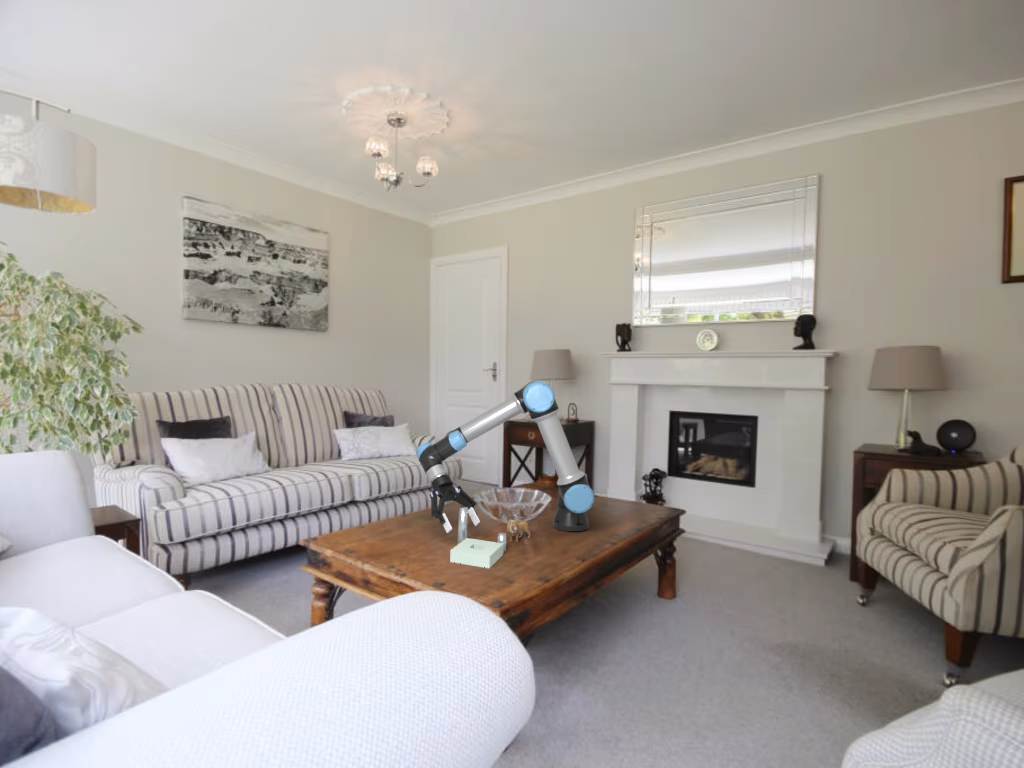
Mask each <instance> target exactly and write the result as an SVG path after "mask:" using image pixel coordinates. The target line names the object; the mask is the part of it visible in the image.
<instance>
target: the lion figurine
mask: <svg viewBox="0 0 1024 768" xmlns="http://www.w3.org/2000/svg"><path fill="white" fill-rule="evenodd" d="M506 527H507V529H506V531H507V533H508V535H509V540H508V542H509V541H512V542H513V536H515V540H514V543H515V542H518V543H519V538H518V537H521V538H522V536H523V534H524V533H523V531H525V532H526V535H528V536H527V539H531V537H532V535H531V530H530V527H529V523H528V522H527V521H526V520H522V521H519V522H518V521H517V520H515V519H511V520H509V521H508V523H507V526H506Z"/></svg>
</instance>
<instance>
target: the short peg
mask: <svg viewBox="0 0 1024 768" xmlns="http://www.w3.org/2000/svg"><path fill="white" fill-rule="evenodd" d="M507 537H508V536H507V533H506V532H497V543H504V548H503V553H505V552H506V551H507V539H508V538H507ZM504 551H505V552H504Z"/></svg>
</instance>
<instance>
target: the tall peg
mask: <svg viewBox="0 0 1024 768" xmlns="http://www.w3.org/2000/svg"><path fill="white" fill-rule="evenodd" d="M468 515H469V513H468V507H466V506H462V505H460V506H459V507H458V529H457V545H458V544H459V543H461V542H462V541H463V540H465V539H466V538H468V518H469V517H468Z"/></svg>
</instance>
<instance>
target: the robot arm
mask: <svg viewBox="0 0 1024 768" xmlns="http://www.w3.org/2000/svg"><path fill="white" fill-rule="evenodd" d="M559 410H560V409H559V405H558V403H557V401H556V398H555V391H554V389H553V388H552V386H550V384H549V383H547V382H545V381H543V380H532V381H529V382H527V384H526V385H524V386H523V387H522V388H519V390H517V391H516V392H514V393H513V394H512V396H511V397H510V398H508V399H506V400H504V401H503V402H501V403H499V404H498V405H495V406H493V407H491V408H490V409H488V410H487V411H485V412H483V413H481V414H479V415H477V416H476V417H474V418H473V419H471V420H469V421H466V422H465V423H463V424H462V425H460V426H459V427H457V428H455V429H453V430H450V431H449V432H447V433H446V434H445V436H444V437H443V438H442V439H440V440H438V441H437V442H436V443H434V444H433V443H432V442H429V441H427V442H424V443H422V444H420V445H419V446H418V447H417V448H416V450H415V455H416V456H417V459H418V462H419V464H420V465H421V467H422V469H423V471H424V473H425V475H426V477H427V479H428V482H429V483H430V484H431V485H430V486H431V488H432V489H433V490H432V491H431V492H430V493H429V497H430V505H431V506H430V508H431V509H430V511H431V517H433V518H434V517H435V519H438V520H439V522H440V524H441V525H442V526H443V528H444V530H445V532H446V534H449V533H450V532H451V531H452V530H453V527H452V525H451V523H450V521H449V519H448V517H447V515H446V512H443V510H444V507H445V503H446V502H449V501H450V502H451V501H453V502H456V503H457V504H459V505H460V506H466V507H468V515H469V518H470V519H471V521H472V523H473V525H474V527H476V526H478V525H479V524H480V522H481V521H480V519H479V517H478V512H477V511H476V509H475V507H476V505H477V502H476V501H475V500H474V499H473V498H471V496H470V495H469V494H467V493H466V492H465V491H464V490H463V488H462V487H461V485H458V486H457V487H454V486H453V480H452V479H451V477H450V475H449V474H448V471H447V469H446V468H445V465H444V463H443V462H444V461H446V460H447V459H448V458H450V457H452V456H453V455H455V454H456V453H458V452H460V451H462V450H463V449H464V448H465V447H466V446H468V445H467V444H468V443H470V442H471V441H473V440H475V439H477V438H478V437H481V436H482V435H484V434H486V433H488V432H490V431H491V430H493V429H495V428H497V427H498V426H500V425H502V424H503V423H505V422H507V421H510V420H511V419H513V418H514V417H516V416H518V415H520V414H526V413H528V414H529V417H530V419H531V421H533V422H536V424H537V426H538V429H539V432H540V434H541V436H542V439H543V442H544V444H545V447H546V450H547V453H548V455H549V457H550V459H551V462H552V465H553V467H554V470H555V472H556V475H557V477H558V479H557V482H556V485H557V488H558V494H557V495H558V496H557V501H558V502H557V509H556V512H555V513H554V517H553V519H552V527H553V528H554V529H556V530H559V531H562V530H563V531H562V532H568V531H582V532H584V531H583V530H586V529H588V528H590V521H589V519H588V515H587V512H588V511H589V510H590V509H591V508H592V506H593V505H594V502H595V493H594V490H593V489H592V488H591V486H590V484H589V481H588V474H587V473H585V472H584V471H583V470H582V471H581V470H580V469H579V466H578V464H577V461H576V459H575V457H574V454H573V451H572V449H571V446H570V444H569V441H568V438H567V436H566V433H565V431H564V428H563V427H562V426H563V425H562V424H561V422H560V421H561V420H560V418H559V416H558V412H559ZM438 498H439V500H438ZM588 530H589V529H588ZM586 531H587V530H586Z"/></svg>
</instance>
